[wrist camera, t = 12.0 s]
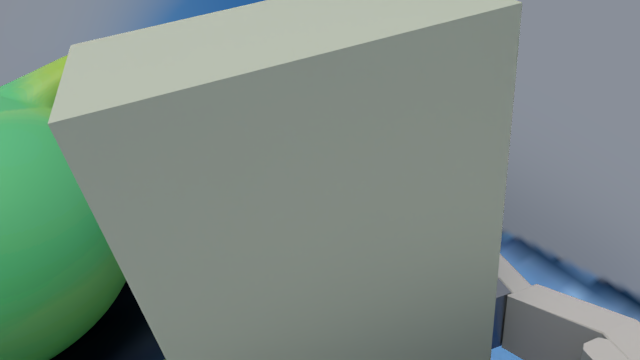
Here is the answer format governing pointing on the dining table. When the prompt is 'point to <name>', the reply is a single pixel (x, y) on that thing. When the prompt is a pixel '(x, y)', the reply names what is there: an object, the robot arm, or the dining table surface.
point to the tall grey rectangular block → (302, 174)
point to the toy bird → (45, 231)
